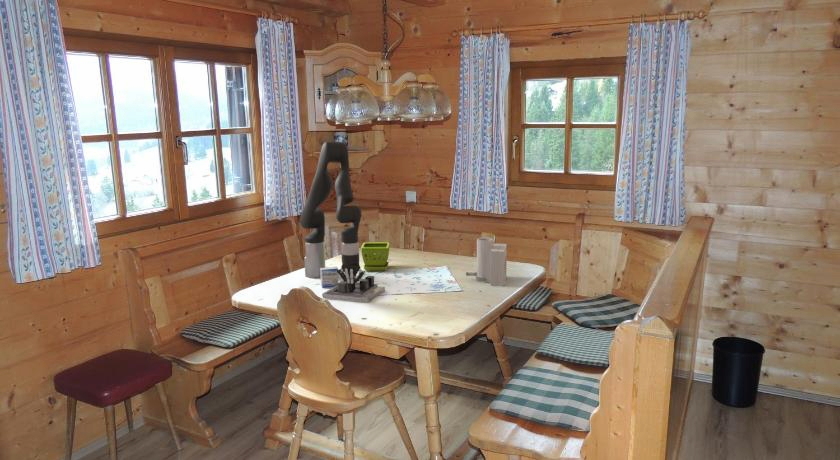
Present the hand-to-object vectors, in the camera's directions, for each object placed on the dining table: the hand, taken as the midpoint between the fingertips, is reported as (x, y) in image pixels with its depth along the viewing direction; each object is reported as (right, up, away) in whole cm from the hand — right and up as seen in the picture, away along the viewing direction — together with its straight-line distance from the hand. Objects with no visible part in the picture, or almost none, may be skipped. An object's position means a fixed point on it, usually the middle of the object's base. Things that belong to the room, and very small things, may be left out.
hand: (351, 291), depth 270 cm
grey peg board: (0, -2, +7) cm, 7 cm away
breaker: (-4, -1, +1) cm, 4 cm away
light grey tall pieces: (+61, +2, +25) cm, 66 cm away
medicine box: (-12, 0, +21) cm, 24 cm away
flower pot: (+7, +6, +50) cm, 51 cm away
